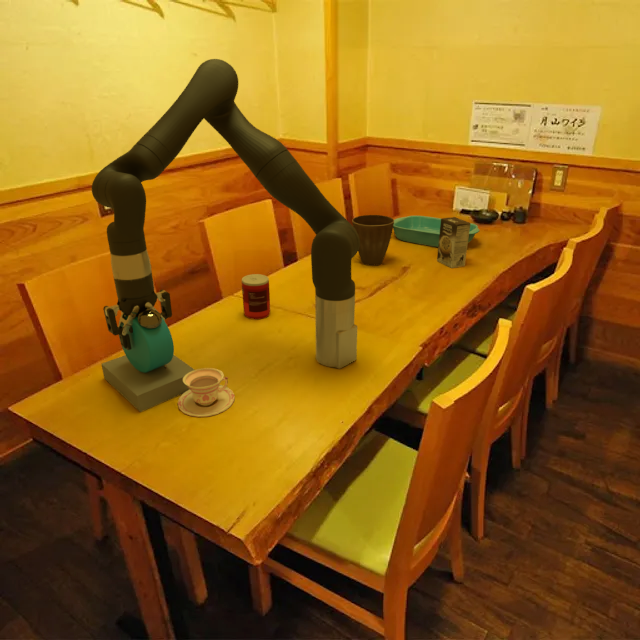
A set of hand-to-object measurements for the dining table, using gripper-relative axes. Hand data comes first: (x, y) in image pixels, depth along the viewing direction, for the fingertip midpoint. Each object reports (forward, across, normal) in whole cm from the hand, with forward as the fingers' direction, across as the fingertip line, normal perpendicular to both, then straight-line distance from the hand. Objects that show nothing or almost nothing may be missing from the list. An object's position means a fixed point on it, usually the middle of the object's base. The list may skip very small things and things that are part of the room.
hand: (144, 342), depth 113 cm
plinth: (+10, 0, 0) cm, 10 cm away
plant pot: (+11, -98, -20) cm, 101 cm away
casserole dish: (+11, -138, -21) cm, 140 cm away
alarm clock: (+6, 0, 0) cm, 6 cm away
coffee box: (+11, -118, +1) cm, 118 cm away
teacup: (+11, -5, +15) cm, 19 cm away
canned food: (+11, -40, -13) cm, 43 cm away
